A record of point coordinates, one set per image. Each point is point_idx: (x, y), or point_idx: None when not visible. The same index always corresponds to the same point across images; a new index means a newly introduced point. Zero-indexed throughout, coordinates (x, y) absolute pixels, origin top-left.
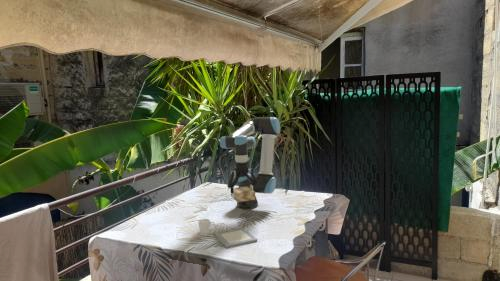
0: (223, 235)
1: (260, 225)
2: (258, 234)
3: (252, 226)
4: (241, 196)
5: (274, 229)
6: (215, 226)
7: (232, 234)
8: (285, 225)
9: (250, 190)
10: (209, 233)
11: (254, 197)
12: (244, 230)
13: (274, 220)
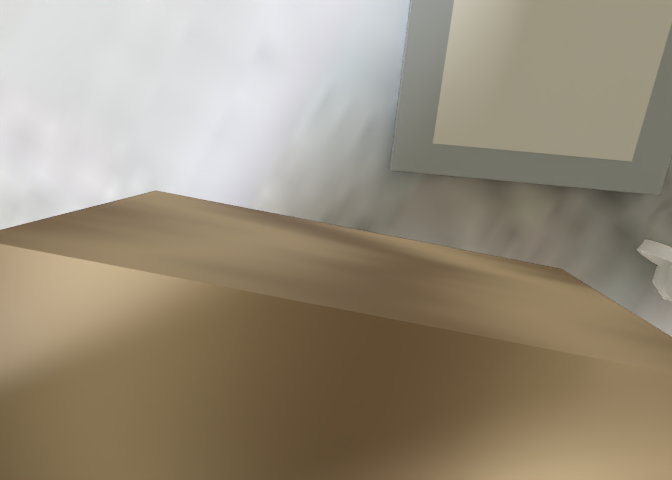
0: (627, 121)
1: (223, 182)
2: (335, 8)
3: (289, 201)
4: (510, 295)
5: (159, 29)
6: (663, 247)
7: (553, 94)
8: (33, 55)
9: (82, 446)
10: (657, 257)
11: (139, 200)
12: (414, 121)
13: (72, 211)
